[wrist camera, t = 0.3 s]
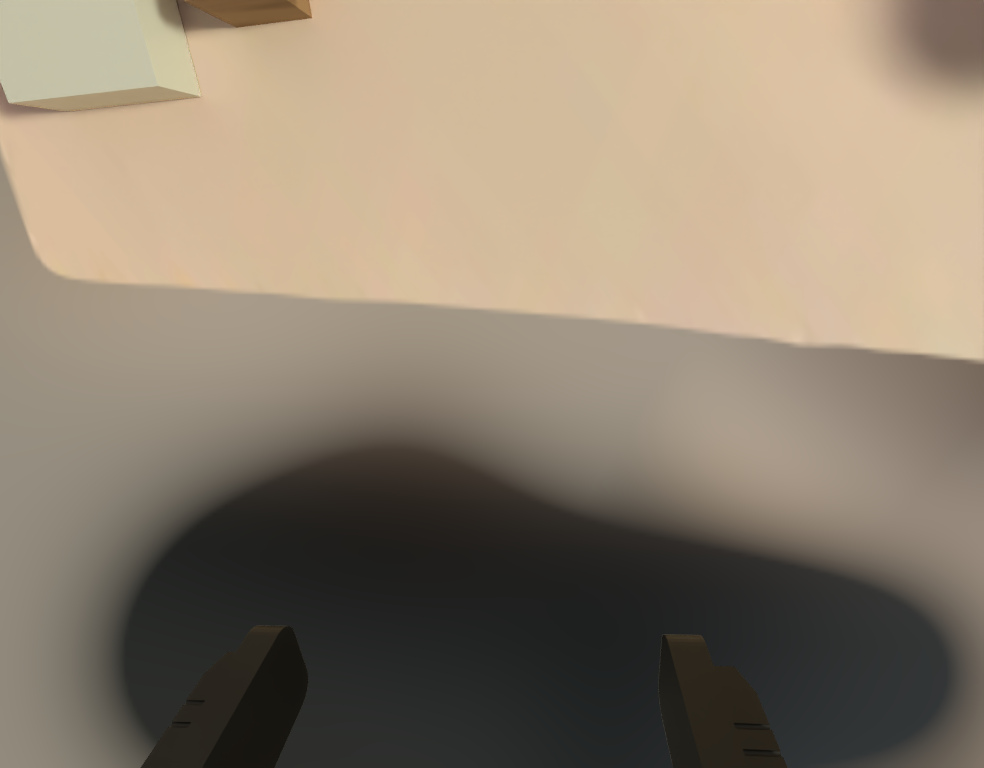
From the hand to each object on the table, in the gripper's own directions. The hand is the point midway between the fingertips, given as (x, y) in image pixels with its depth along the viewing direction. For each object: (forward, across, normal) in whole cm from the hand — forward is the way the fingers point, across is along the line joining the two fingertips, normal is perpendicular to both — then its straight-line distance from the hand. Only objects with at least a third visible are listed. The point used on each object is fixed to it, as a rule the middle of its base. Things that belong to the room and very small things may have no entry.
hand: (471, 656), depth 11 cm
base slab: (+28, +25, -21) cm, 43 cm away
